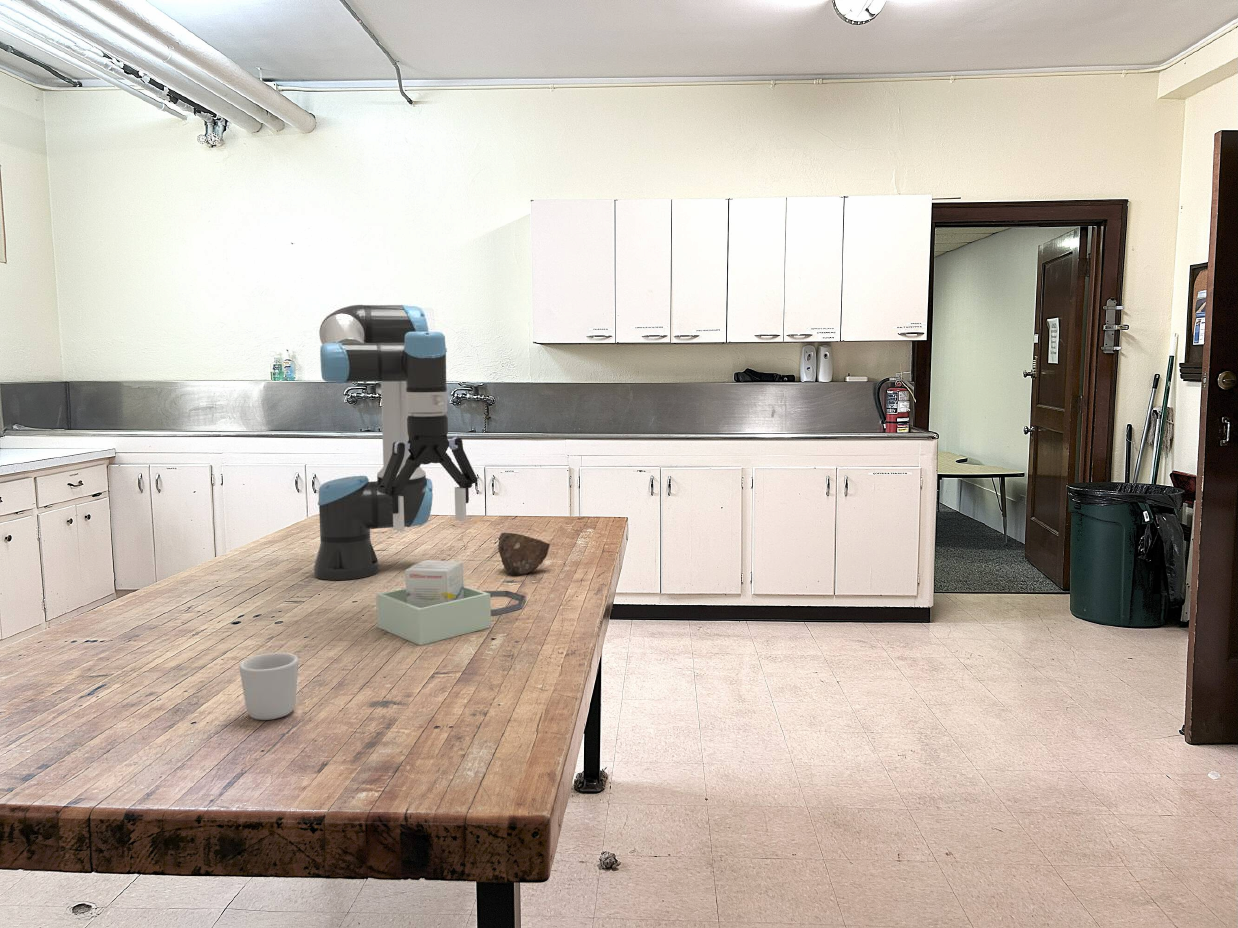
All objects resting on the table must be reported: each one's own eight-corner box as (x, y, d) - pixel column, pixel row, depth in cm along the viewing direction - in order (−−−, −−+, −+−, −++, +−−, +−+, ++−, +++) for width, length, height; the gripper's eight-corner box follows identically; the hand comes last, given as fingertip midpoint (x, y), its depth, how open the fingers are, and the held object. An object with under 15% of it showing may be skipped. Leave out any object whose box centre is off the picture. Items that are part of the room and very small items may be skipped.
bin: (377, 627, 171) (376, 593, 170) (446, 611, 182) (445, 579, 181) (420, 645, 160) (418, 609, 159) (491, 627, 170) (490, 593, 170)
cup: (258, 697, 135) (255, 646, 134) (311, 695, 136) (309, 645, 135) (234, 725, 125) (231, 671, 124) (292, 723, 125) (289, 669, 124)
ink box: (466, 618, 174) (464, 560, 173) (449, 631, 166) (447, 570, 165) (425, 616, 176) (423, 558, 175) (406, 628, 168) (404, 568, 166)
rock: (549, 548, 220) (551, 532, 211) (540, 586, 215) (541, 571, 206) (501, 537, 220) (501, 520, 211) (490, 574, 215) (490, 559, 206)
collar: (434, 604, 187) (434, 600, 187) (495, 591, 197) (495, 586, 197) (477, 619, 175) (477, 614, 175) (538, 604, 186) (538, 600, 186)
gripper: (376, 419, 155) (381, 537, 158) (493, 412, 172) (495, 519, 175) (356, 416, 160) (361, 531, 163) (471, 410, 177) (474, 514, 180)
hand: (430, 525), depth 169 cm, fingers open, 13 cm apart
